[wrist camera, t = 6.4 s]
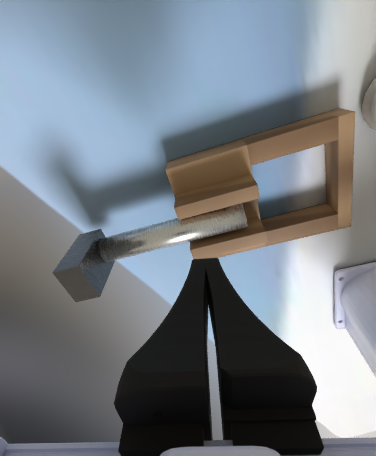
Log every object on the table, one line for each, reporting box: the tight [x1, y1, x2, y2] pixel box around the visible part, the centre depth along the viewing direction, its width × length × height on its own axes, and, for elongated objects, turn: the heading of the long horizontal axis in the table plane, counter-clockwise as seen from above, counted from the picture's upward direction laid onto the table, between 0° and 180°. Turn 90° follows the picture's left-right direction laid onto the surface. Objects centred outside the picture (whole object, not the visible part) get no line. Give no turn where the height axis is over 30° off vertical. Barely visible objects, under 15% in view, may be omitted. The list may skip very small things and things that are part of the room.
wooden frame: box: [165, 108, 355, 259], centre depth 19 cm, size 9×13×4 cm
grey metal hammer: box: [53, 203, 248, 302], centre depth 18 cm, size 3×14×5 cm, turn 108°
